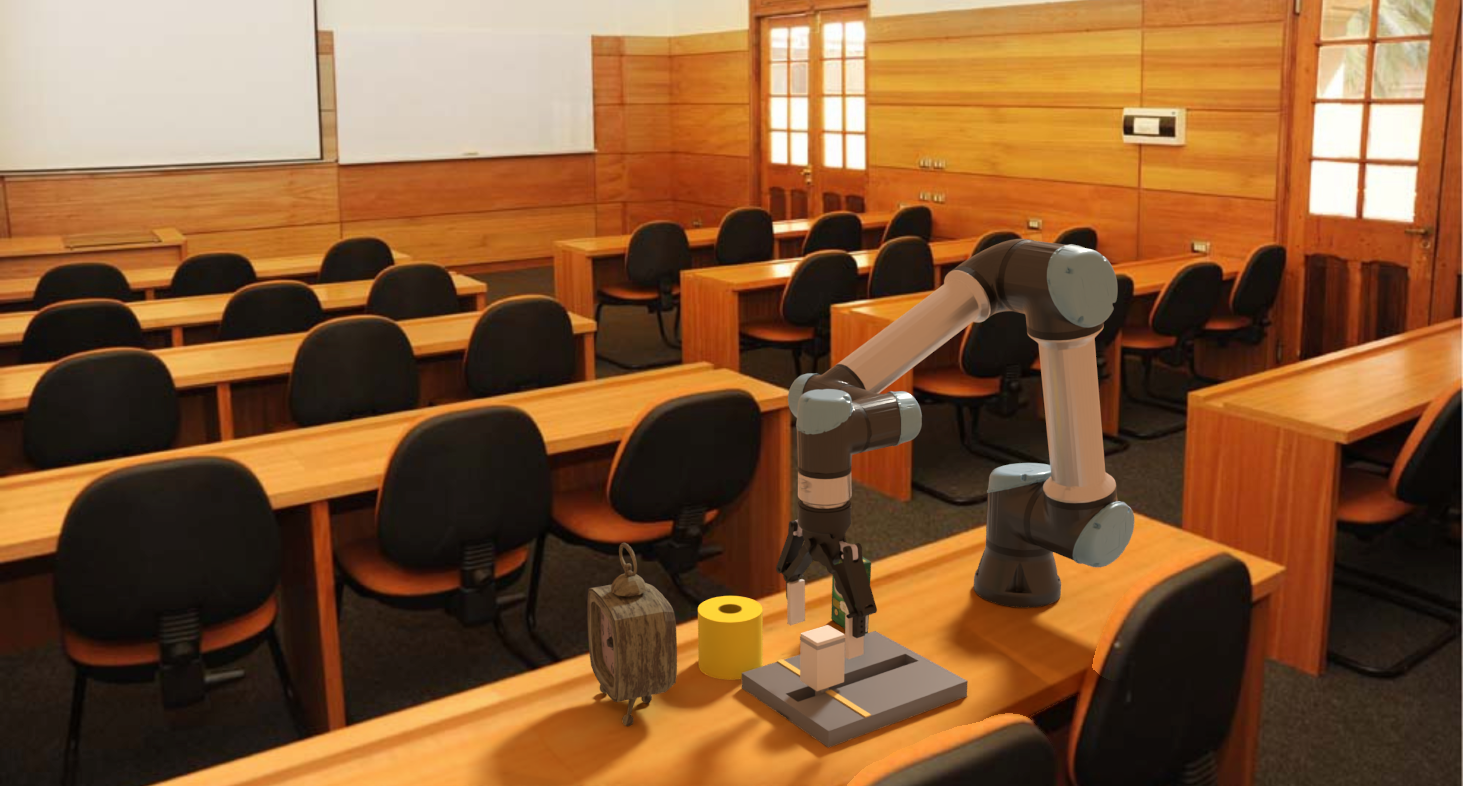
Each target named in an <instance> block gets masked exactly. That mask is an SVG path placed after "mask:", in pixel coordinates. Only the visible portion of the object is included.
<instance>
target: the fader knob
mask: <svg viewBox="0 0 1463 786" xmlns="http://www.w3.org/2000/svg"><path fill="white" fill-rule="evenodd" d="M799 641H800V646H799V647H800V654H799V655H800V681H802V682H803V683H805V684H806V685H808V686H809V687H811V688H813V689H814V690H815V696H817V695H820V694H823V693H826V691H828V690H829V687H831V686H834V685H837V684H840V683H843V682H844V661H845V633H843V632H841V631H839V630H838V629H836V628H834V627H832V626H831V625H829V624H826V625H823V626H821V627H817V628H813V629H811V630H806V631H803V632H800V636H799Z"/></svg>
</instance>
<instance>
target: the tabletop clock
mask: <svg viewBox="0 0 1463 786" xmlns="http://www.w3.org/2000/svg"><path fill="white" fill-rule="evenodd" d="M624 549H626V551H627V552H628V554H629V555H630V558H631V561H632V564H633V568H632V564H631V563H630V562H629V563H626V561H625V559H624V556H623V551H624ZM618 554H619V555H618V556H619V560H620V564H621V567H622V569H623V570H624V573H622V574H620V575H618V576H617V577H616V578H614V579H613V581H612V584H608V585H603V586H602V585H601V586H595V587H589V588H588V589H587V599H586V600H587V602H586V603H587V608H586V609H587V614H586V615H587V620H586V621H587V639H588V641H587V642H588V652H589V660H590V666H591V669H592V672H593V674H594V676H595V678H596V680H597V681H598V683H599V684H600V685H599V691H600V692H601V693H603V694H606V695H607V696H608V697H609V698H610V699H611V700H612V701H613V702H615V703H619V702H624V701H628V703H627V705H628V706H627V713H626V714H625V715H624V716H622V719H621V720H622V724H623V725H624V726H625V727H630V726H632V725H633V723H634V717H633V715H632V713H633V709H634V706H635V702H636V701H637V699H639V698H641V702H642V703H643V704H649V703H651V701H652V700H653V695H654V696H655V695H658V694H663V693H666V692H667V691H668V690H669V689H671V688H672V687H673V686H674V685H675V684H676V682H677V674H678V643H677V640H678V639H677V637H678V636H677V623H676V614H675V610H674V609H673V606H672V605H671V603H670V602H669V600H668V599H667V598H665V596H664V595H663V593H661V592H660V591H659V590H658V589H657V588H656V587H655V586H654V585H652V584H649V583H647V582H645V580H644V579H643V577H641V576H640V575H638V574H637V573H638V564H637V563H638V562H637V558H636V554H635V551H634V550H633V548H632V547H631V546H630V545H629V543H626V542H622V543H621V544H620V545H619V548H618ZM632 570H633V571H632Z"/></svg>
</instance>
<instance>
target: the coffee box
mask: <svg viewBox="0 0 1463 786" xmlns="http://www.w3.org/2000/svg"><path fill="white" fill-rule="evenodd" d="M862 557H863V562H864V566H865V569H866V573H867V576H868V580H869V583H870V584H871V577H872V576H871V575H872V573H871V572H872V561H870V560H869V559H867V558H865V557H864V556H862ZM839 563H842V560H841V559H840V561H839V562H838V563H836V564H839ZM836 564H834V565H836ZM831 575H832V574H831ZM831 577H832V578H831V579H832V583H831V614H830V619H831V620H832V621H833V622H834V623H835V624H836V625H838V626H840V627H842V628H843V629H844V630H845V615H846V614H849V611H848V609H847V606H846V604H845V602H844V599H843V597H842V595H841V593H840V590H839V588H838V586H837V584H836V581H835V579H834V577H833V575H832V576H831ZM855 607H856V604H855ZM869 616H870V615H867V616H866V626H865V627H866V633H865V634H867V633H869V622H870V620H869V619H870V617H869Z"/></svg>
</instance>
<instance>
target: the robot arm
mask: <svg viewBox="0 0 1463 786" xmlns="http://www.w3.org/2000/svg"><path fill="white" fill-rule="evenodd" d="M1110 262H1111V261H1109V259H1108V258H1107V257H1105V256H1104V255H1103V254H1101V253H1100V252H1098V251H1097V250H1094V249H1091V248H1087V247H1086V248H1085V247H1084V246H1081V245H1078V244H1077V245H1076V244H1062V243H1055V242H1048V241H1047V242H1045V241H1041V240H1040V241H1039V240H1038V241H1037V240H1033V239H1029V238H1028V239H1027V238H1015V239H1009V240H1006V241H1005V240H1004V241H1002V242H1000V243H997V244H994V245H992V246H990V247H988V248H985V249H984V250H981V251H979V252H978V253H976V254H975V255H973V256H971V257H969V258H968V259H966V260H964V261H963V262H961V263H960V264H958V265H957V266H956V267H954V268H953V269H952V270H950V271H948V273H947V274H946V275H945V276H944V279H943V284H942V285H941V286H940V287H938V288H936V290H934V291H933V292H931V294H929V295H927V296H926V297H924V299H922V300H921V301H920V302H918V303H917V304H915V305H914V306H913V307H912V308H910V309H909V310H907V311H906V312H905V313H904V314H902V315H901V316H900V317H898V318H897V319H895V320H893V322H891V323H890V324H889V325H887V326H886V327H885V328H883V329H882V330H881V331H879V332H878V333H877V334H876V335H874V336H873V337H871V338H870V339H868V340H867V341H866V342H864V343H863V344H862V345H860V346H859V347H858V348H856V349H855V350H854V351H853V352H851V353H850V354H849V355H847V356H846V357H845V358H843V359H842V360H841V361H839V362H837V363H836V364H835V365H834V366H833V367H831V368H830V369H828V370H826V371H825V372H824V373H822V374H819V373H817V372H816V373H811V372H810V373H809V372H807V373H805V374H803V373H802V374H800V375H799V376H798V377H797V378H795V379H794V381H793V382H792V384H791V386H790V388H789V390H788V393H787V395H788V396H787V402H788V403H787V405H788V407H789V410H790V412H791V413H792V415H793V416H794V417H795V418H796V423H795V426H796V428H795V429H796V444H797V446H796V448H797V449H796V451H797V497H798V499H799V501H798V502H797V519H795V520H794V519H793V520H791V521H788V533H787V536H786V539H785V542H784V545H783V548H782V550H781V553H780V555H779V558H778V561H777V563H776V566H775V570H776V572H777V574H782V575H783V576H782V577H783V580H784V581H785V598H786V600H787V601H786V602H787V604H786V609H787V614H786V615H787V617H786V618H787V625H789V626H793V625H796V624H800V623H803V622H805V621H806V598H805V597H806V580H805V579H803V577H805V575H804V573H805V572H806V570H807V569H808V568H809V567H810V565H811V564H812V563H813V562H816V563H817V562H818V563H819V564H821V565H822V566H824V567H825V568H826V570H827V572H828V573H829V574H831V575H833V577H834V579H835V581H836V584H837V586H838V588H839V590H840V593H841V595H842V597H843V599H844V602H845V604H846V606H847V609H848V611H849V614H846V615H845V629H844V630H845V631H844V632H845V633H844V634H845V658H847V659H851V658H854V657H857V656H860V655H863V654H864V636H865V633H866V627H865V626H866V616H867V615H869V616H870V615H873V614H876V613H877V612H878V609H877V604H876V600H875V598H874V594H873V590H872V588H871V582H870V583H869V580H868V576H867V573H866V569H865V566H864V562H863V557H864V556H863V548H862V547H863V545H862V544H861V543H860V542H857V543H853V544H852V543H848V541H847V537H846V532H847V531H848V529H849V528H850V527H851V525H852V502H851V501H850V499H851V498H852V464H853V463H852V460H853V455H858V454H861V453H865V452H870V451H871V452H872V451H874V450H879V449H880V450H881V449H884V448H888V447H898V446H899V445H901V444H904V443H907V442H910V441H913V440H914V439H915V438H916V437H917V436H918V435H919V433H920V432H921V429H922V425H923V423H922V418H923V415H922V414H923V413H922V410H921V406H920V404H919V403H918V401H917V400H916V398H915V396H914V395H912V394H911V393H909V392H907V391H904V390H901V391H900V390H899V391H892V390H890V391H888V392H885V393H882V392H883V391H884V390H885V389H886V388H888V387H889V386H890V385H892V384H893V383H894V382H896V381H897V380H899V379H900V378H901V377H902V376H904V375H905V374H906V373H908V372H909V371H910V370H911V369H913V368H914V367H915V366H917V365H918V364H919V363H922V361H923V360H925V359H926V358H927V357H929V356H930V355H931V354H933V352H935V351H937V350H938V349H939V348H941V347H942V346H943V345H944V344H946V343H947V342H948V341H950V339H952V338H953V337H955V336H956V335H957V334H959V333H960V332H961V331H962V330H964V329H966V327H968V326H970V324H972V323H982V322H986V320H987V319H989V318H990V317H991V316H993V315H995V314H998V313H1002V312H1003V313H1004V312H1014V313H1020V314H1024V315H1025V321H1026V322H1025V323H1026V333H1027V336H1028V337H1029V338H1030V339H1032V340H1033V341H1035V342H1036V343H1037V344H1038V353H1039V363H1040V372H1041V385H1042V394H1043V403H1044V413H1045V414H1044V415H1045V416H1044V417H1045V423H1046V425H1045V426H1046V436H1047V445H1048V454H1049V455H1048V456H1049V464H1046V463H1038V462H1022V463H1021V462H1019V463H1009V464H1006V465H1002V466H998V467H996V468H994V469H993V470H992V471H991V473H990V474H989V477H988V486H987V487H988V488H987V490H986V524H985V527H986V528H985V529H986V530H985V531H986V532H985V548H984V551H983V553H982V555H981V557H980V560H979V563H978V565H977V566H978V567H977V569H976V571H975V573H974V576H973V590H974V592H975V594H977V595H978V596H979V597H980V598H981V599H983V600H985V601H989V602H991V603H993V604H996V605H997V604H998V605H1000V606H1005V607H1013V608H1039V607H1044V606H1048V605H1051V604H1053V603H1055V602H1057V601H1058V600H1059V599H1060V597H1061V592H1062V582H1061V581H1062V580H1061V578H1060V576H1059V575H1058V569H1057V563H1056V559H1055V556H1054V554H1056V555H1059V556H1062V557H1065V558H1067V559H1069V560H1072V561H1073V562H1075V563H1076V564H1078V565H1079V564H1080V565H1081V564H1082V565H1087V566H1089V567H1091V568H1104V567H1107V566H1108V565H1109V566H1110V564H1112V563H1113V562H1115V561H1117V560H1118V558H1119V557H1120V556H1121V555H1122V554H1123V553H1124V551H1125V550H1126V548H1127V546H1128V545H1129V543H1130V541H1131V539H1132V536H1133V533H1134V529H1135V514H1134V511H1133V509H1132V508H1131V507H1130V506H1129V505H1128V504H1127V503H1126V502H1125V501H1121V500H1119V499H1118V493H1117V492H1118V491H1117V483H1116V480H1115V478H1114V477H1113V476H1112V475H1111V474H1109V473H1108V472H1106V465H1105V462H1106V461H1105V452H1104V440H1103V428H1102V426H1103V425H1102V415H1101V403H1100V392H1099V391H1100V389H1099V379H1098V378H1099V377H1098V376H1099V375H1098V367H1097V364H1098V363H1097V357H1096V356H1097V353H1096V351H1097V350H1096V341H1095V338H1096V337H1097V336H1098V335H1099V334H1100V333H1101V332H1102V331H1103V329H1104V325H1105V324H1104V323H1105V321H1107V320H1108V319H1109V318H1110V316H1111V315H1112V313H1113V311H1114V309H1115V308H1114V306H1113V304H1115V303H1116V302H1117V300H1118V299H1117V298H1118V280H1117V279H1118V278H1117V275H1116V272H1115V270H1114V267H1113V265H1112V264H1111V263H1110ZM840 559H841V560H842V563H839V564H836V563H838V562H839V561H840ZM834 564H836V565H834ZM800 578H801V579H800ZM855 604H856V607H855Z"/></svg>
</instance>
